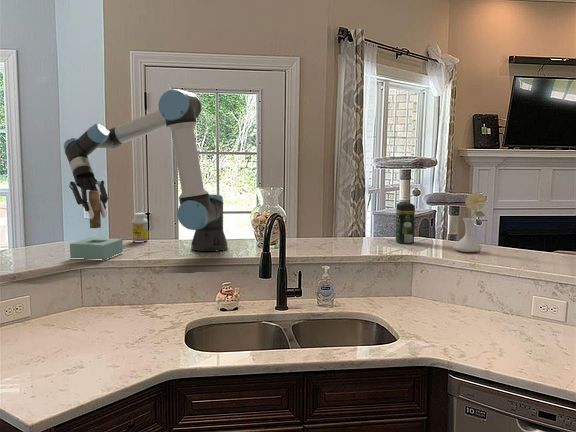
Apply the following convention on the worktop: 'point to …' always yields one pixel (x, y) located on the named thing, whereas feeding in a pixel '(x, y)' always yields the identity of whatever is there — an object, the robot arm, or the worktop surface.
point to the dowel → (95, 209)
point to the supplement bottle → (140, 227)
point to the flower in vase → (467, 241)
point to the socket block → (96, 248)
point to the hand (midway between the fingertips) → (98, 216)
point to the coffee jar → (405, 222)
